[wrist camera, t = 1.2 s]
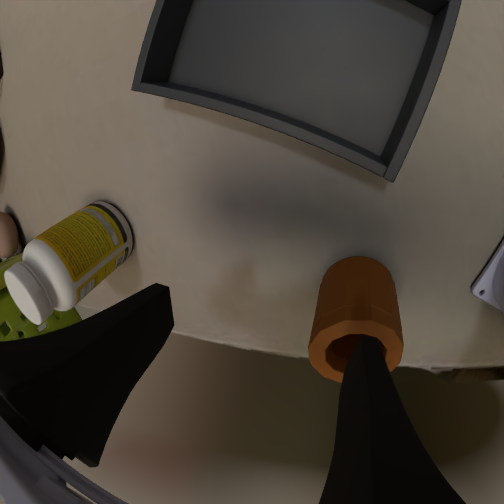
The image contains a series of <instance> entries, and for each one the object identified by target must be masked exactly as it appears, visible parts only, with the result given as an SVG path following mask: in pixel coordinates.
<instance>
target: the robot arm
mask: <svg viewBox="0 0 504 504" xmlns="http://www.w3.org/2000/svg"><path fill="white" fill-rule="evenodd" d="M471 290H472V293H473V294H474V295H475V296H477V297H479V298H480V299H482V300H484V301H485V302H487V303H489V304H490V305H492V306H494V307H495V308H497V309H499V310H500V311H502V312H503V314H504V239H503V241H502V243H501V244H500V246H499V248H498V249H497V251H496V252H495V254H494V255H493V257H492V258H491V260H490V262H489V263H488V264H487V266H486V267H485V269H484V270H483V272H482V273H481V275H480V276H479V277H478V279H477V280H476V282H475V283H474V284H473V286H472V289H471ZM481 290H483V291H482V292H480V291H481ZM173 327H174V319H173V312H172V305H171V297H170V290H169V287H168V286H165V285H161V284H158V283H155V284H153V285H151V286H149V287H147V288H145V289H143V290H141V291H139V292H137V293H136V294H134V295H132V296H130V297H128V298H126V299H124V300H123V301H121V302H119V303H117V304H115V305H113V306H111V307H109V308H107V309H105V310H103V311H101V312H99V313H97V314H95V315H93V316H91V317H89V318H87V319H85V320H82V321H80V322H77V323H75V324H72V325H70V326H67V327H64V328H61V329H58V330H55V331H52V332H48V333H45V334H41V335H38V336H33V337H29V338H23V339H18V340H10V341H0V496H1V498H2V499H3V501H4V502H5V503H6V504H93V503H92V502H90V501H89V500H88V499H86V498H85V497H83V496H81V495H80V494H78V493H76V492H74V491H73V490H71V489H69V488H68V487H67V486H66V482H68V483H69V484H70V485H71V486H73V487H74V488H75V489H77V490H78V491H80V492H81V493H82V494H84V495H85V496H87V497H88V498H90V499H91V500H93V501H94V502H96V503H97V504H128V503H126V502H124V501H123V500H121V499H119V498H117V497H115V496H114V495H112V494H111V493H109V492H107V491H106V490H104V489H103V488H101V487H99V486H98V485H96V484H95V483H93V482H92V481H90V480H89V479H88V478H86V477H85V476H83V475H82V474H80V473H79V472H78V471H76V470H75V469H73V468H72V467H71V466H69V465H68V464H67V463H66V462H64V461H63V460H62V459H63V457H64V456H67V457H68V458H69V459H70V460H73V459H74V458H75V457H76V458H77V459H79V460H80V461H82V462H83V463H84V464H86V465H87V466H89V467H97V466H98V465H99V461H100V458H101V455H102V453H103V450H104V447H105V444H106V442H107V439H108V437H109V434H110V432H111V430H112V427H113V425H114V423H115V421H116V419H117V417H118V415H119V413H120V411H121V409H122V407H123V405H124V403H125V402H126V400H127V398H128V396H129V394H130V392H131V391H132V389H133V388H134V386H135V385H136V383H137V382H138V381H139V379H140V378H141V376H142V375H143V374H144V372H145V371H146V369H147V368H148V366H149V365H150V364H151V362H152V361H153V360H154V358H155V357H156V355H157V354H158V353H159V351H160V350H161V348H162V347H163V345H164V344H165V342H166V340H167V338H168V336H169V335H170V333H171V331H172V329H173ZM319 504H466V503H465V502H464V501H463V500H462V498H461V497H460V496H459V495H458V494H457V493H456V491H455V490H454V489H453V488H452V487H451V486H450V484H449V483H448V482H447V480H446V479H445V478H444V476H443V475H442V474H441V472H440V471H439V470H438V468H437V466H436V465H435V463H434V462H433V460H432V459H431V457H430V456H429V454H428V452H427V451H426V449H425V448H424V446H423V444H422V442H421V440H420V439H419V437H418V435H417V433H416V431H415V429H414V428H413V425H412V423H411V421H410V419H409V417H408V416H407V413H406V411H405V409H404V406H403V404H402V402H401V399H400V397H399V394H398V392H397V389H396V387H395V384H394V382H393V379H392V377H391V374H390V371H389V369H388V366H387V363H386V360H385V357H384V354H383V352H382V349H381V346H380V343H379V340H378V338H377V337H372V336H367V335H362V334H361V335H360V337H359V339H358V342H357V344H356V346H355V348H354V350H353V353H352V355H351V357H350V359H349V361H348V363H347V365H346V367H345V369H344V374H343V379H342V385H341V390H340V396H339V408H338V418H337V428H336V438H335V446H334V452H333V457H332V461H331V465H330V469H329V473H328V476H327V480H326V484H325V486H324V490H323V493H322V496H321V499H320V502H319Z"/></svg>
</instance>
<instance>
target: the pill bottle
mask: <svg viewBox="0 0 504 504" xmlns="http://www.w3.org/2000/svg"><path fill="white" fill-rule="evenodd" d="M131 250H132V234H131V230H130V227H129V225H128V223H127V221H126V219H125V218H124V216H123V215H122V214H121V213H120V212H119V211H118V210H117V209H116V208H115V207H113V206H112V205H110V204H108V203H106V202H94V203H91V204H89V205H87V206H86V207H84V208H82V209H80V210H79V211H77V212H75V213H74V214H72V215H70V216H68V217H67V218H65V219H64V220H62V221H60V222H59V223H57V224H56V225H54V226H52V227H51V228H49V229H48V230H46V231H45V232H43V233H42V234H40V235H38V236H37V237H35V238H34V239H32V240H31V241H30V242H29V243H28V244H27V245H26V247H25V249H24V252H23V262H21V261H20V262H17V263H14V264H13V265H12V266H11V267H10V268H8V269H7V270H6V271H5V273H4V278H5V282H6V285H7V288H8V290H9V292H10V294H11V296H12V298H13V300H14V302H15V303H16V305H17V306H18V308H19V309H20V310H21V312H22V313H23V314H24V315H25V316H26V317H27V318H28V319H29V320H30V321H31V322H33V323H34V324H36V325H40V324H42V323H43V322H44V321H45V320H46V319H47V318H48V317H49V316H50V315H51V314H52V312H53V309H55V310H58V311H67V310H70V309H71V308H73V307H74V306H75V305H76V304H77V303H78V302H79V301H81V300H82V299H83V298H84V297H85V296H86V295H87V294H88V293H89V292H90V291H91V290H93V289H94V288H95V287H96V286H97V285H98V284H99V283H100V282H101V281H102V280H104V279H105V278H106V277H107V276H108V275H109V274H110V273H111V272H113V271H114V270H115V269H116V268H117V267H118V266H119V265H121V264H122V263H123V262H124V261H125V260H126V259H127V258H128V257H129V255H130V253H131Z"/></svg>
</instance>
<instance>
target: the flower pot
mask: <svg viewBox="0 0 504 504" xmlns="http://www.w3.org/2000/svg"><path fill="white" fill-rule="evenodd" d="M20 261H21V262H23V253H20V254H17V255H14V256H12V257H9V258H7V259H6V260H4V261H2V262H1V263H0V341H10V340H18V339H23V338H29V337H33V336H38V335H41V334H45V333H48V332H52V331H55V330H58V329H61V328H64V327H67V326H70V325H72V324H75V323H77V322H80V321H82V319H81V317H80V316H79V314H78V312H77V311H76V309H75V308H74V307H73V308H71V309H70V310H67V311H58V310H55V309H53V312H52V314H51V315H50V316H49V317H48V318H47V319H46V320H45V321H44V322H46V325H47V327H46V328H45V329H44V330H42V331H41V332H39V331H38V329H37V328H38V327H39V326H40V325H42V324H43V323H44V322H43V323H42V324H40V325H36V324H34V323H33V322H31V321H30V320H29V319H28V318H27V317H26V316H25V315H24V314H23V313H22V312H21V310H20V309H19V308H18V306H17V305H16V303H15V302H14V300H13V298H12V296H11V294H10V292H9V290H8V288H7V285H6V282H5V278H4V273H5V271H6V270H7V269H8V268H10V267H11V266H12V265H13V264H14V263H17V262H20ZM6 322H7V323H8V325H9V327H8V326H7V324H6Z"/></svg>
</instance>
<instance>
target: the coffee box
mask: <svg viewBox="0 0 504 504" xmlns="http://www.w3.org/2000/svg"><path fill="white" fill-rule="evenodd" d="M2 74H3V73H2V62H1V53H0V77H1V75H2Z"/></svg>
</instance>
